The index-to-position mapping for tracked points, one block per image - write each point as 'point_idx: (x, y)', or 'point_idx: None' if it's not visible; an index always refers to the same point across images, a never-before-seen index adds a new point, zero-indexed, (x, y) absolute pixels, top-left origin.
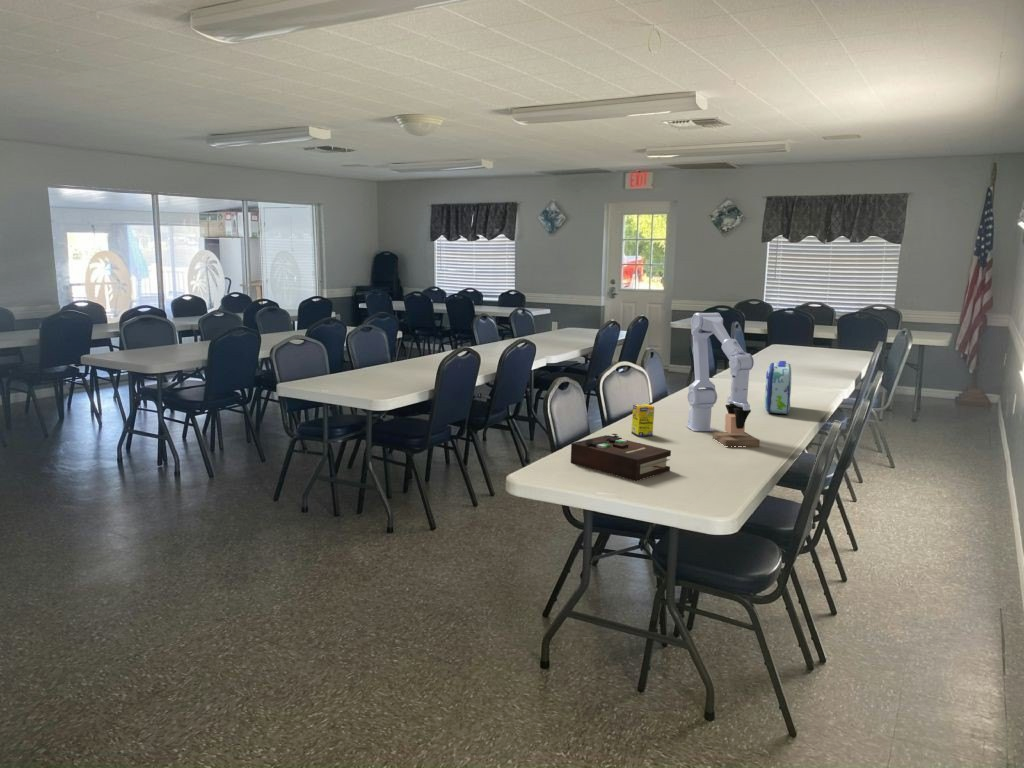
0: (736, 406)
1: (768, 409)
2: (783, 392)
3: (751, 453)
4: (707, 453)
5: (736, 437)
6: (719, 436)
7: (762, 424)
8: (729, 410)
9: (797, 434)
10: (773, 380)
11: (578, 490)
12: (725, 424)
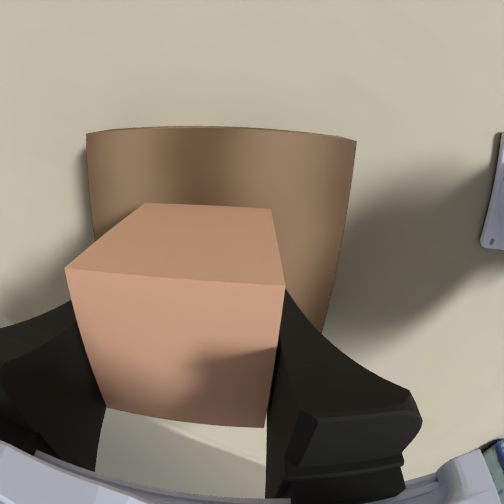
0: (274, 485)
1: (497, 447)
2: None
3: (18, 224)
4: (24, 10)
5: None
6: (214, 128)
7: (453, 426)
8: (284, 377)
9: None
10: None
11: None
12: (266, 227)
